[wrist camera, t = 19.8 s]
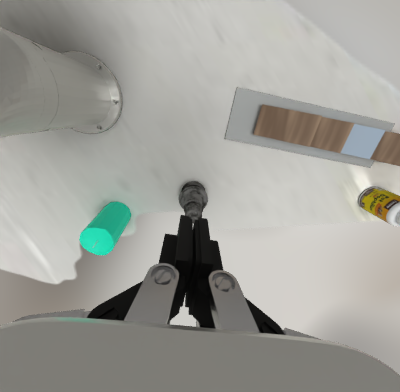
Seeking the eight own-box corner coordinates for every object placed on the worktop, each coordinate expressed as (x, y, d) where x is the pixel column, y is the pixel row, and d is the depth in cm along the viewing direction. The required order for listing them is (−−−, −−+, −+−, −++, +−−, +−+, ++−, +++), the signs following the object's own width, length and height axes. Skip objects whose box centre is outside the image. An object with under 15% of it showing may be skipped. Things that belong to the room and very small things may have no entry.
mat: (224, 138, 38) (225, 138, 38) (236, 87, 35) (237, 87, 34) (368, 167, 42) (370, 167, 41) (393, 123, 38) (395, 123, 38)
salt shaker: (181, 178, 41) (177, 203, 30) (208, 181, 42) (214, 207, 31) (178, 203, 43) (174, 234, 32) (204, 206, 44) (208, 238, 33)
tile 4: (344, 153, 38) (402, 166, 36) (357, 125, 36) (420, 138, 34) (340, 152, 40) (396, 164, 38) (353, 125, 38) (413, 137, 36)
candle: (135, 219, 45) (117, 255, 34) (113, 228, 45) (87, 265, 34) (122, 197, 42) (98, 228, 31) (98, 207, 43) (66, 239, 32)
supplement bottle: (367, 183, 43) (416, 203, 34) (387, 190, 44) (439, 211, 35) (351, 204, 45) (393, 228, 36) (370, 211, 46) (416, 236, 37)
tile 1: (253, 134, 36) (309, 147, 34) (262, 104, 34) (322, 115, 32) (253, 134, 38) (307, 146, 36) (261, 105, 36) (319, 116, 34)
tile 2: (283, 140, 37) (340, 153, 35) (294, 111, 35) (354, 123, 33) (282, 139, 38) (336, 152, 37) (292, 111, 36) (349, 123, 35)
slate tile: (312, 146, 37) (369, 159, 36) (324, 118, 35) (385, 130, 34) (310, 145, 39) (364, 157, 37) (321, 118, 37) (379, 129, 35)
